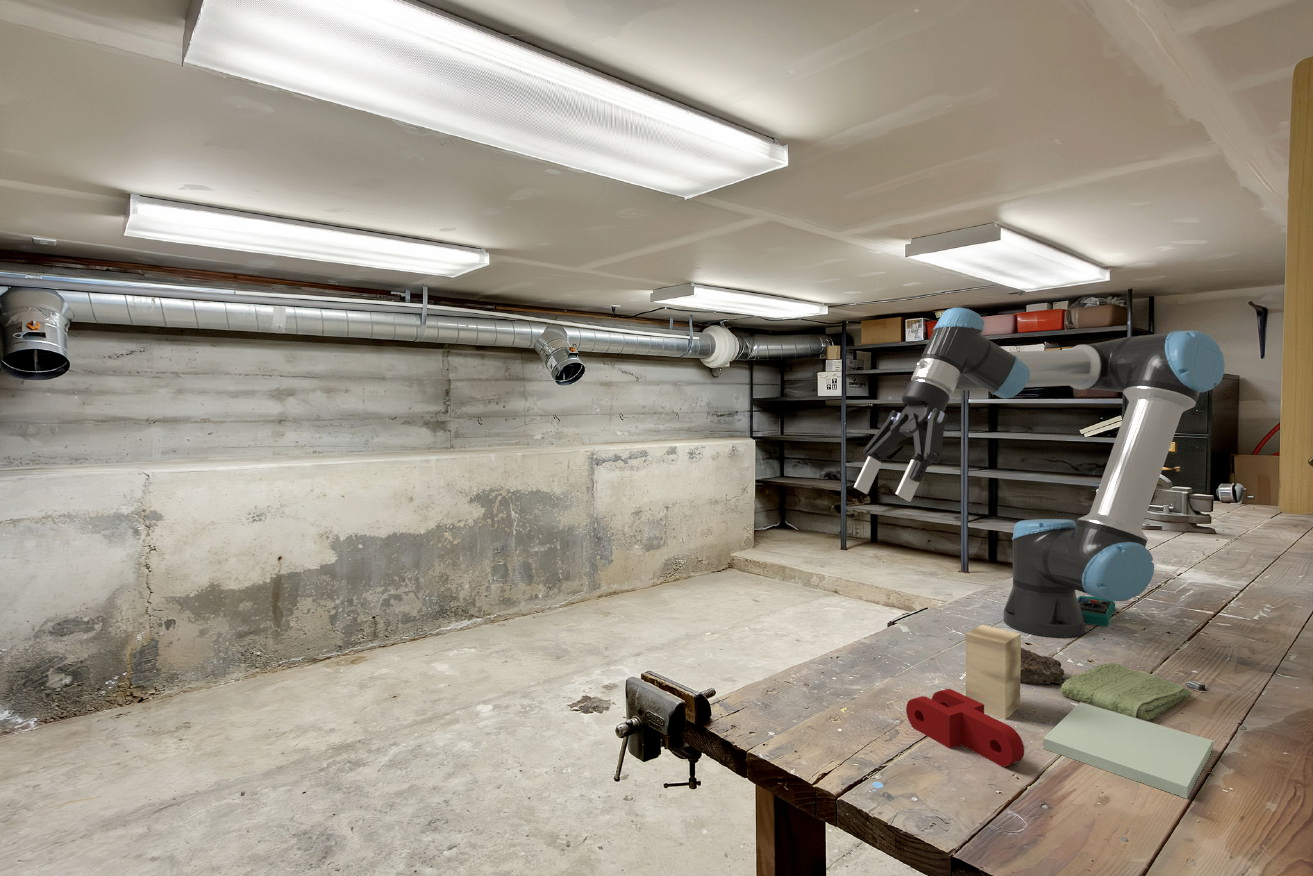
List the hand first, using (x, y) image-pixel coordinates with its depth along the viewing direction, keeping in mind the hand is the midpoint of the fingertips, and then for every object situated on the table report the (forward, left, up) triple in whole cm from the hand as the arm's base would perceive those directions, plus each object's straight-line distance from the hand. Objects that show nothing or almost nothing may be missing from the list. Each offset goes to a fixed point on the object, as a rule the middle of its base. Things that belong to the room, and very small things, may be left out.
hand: (880, 494), depth 115 cm
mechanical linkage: (+12, +20, -33) cm, 41 cm away
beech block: (-2, +18, -33) cm, 38 cm away
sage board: (-2, +36, -33) cm, 49 cm away
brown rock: (-18, +17, -33) cm, 42 cm away
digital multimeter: (-63, +15, -34) cm, 73 cm away
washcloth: (-21, +31, -34) cm, 51 cm away
